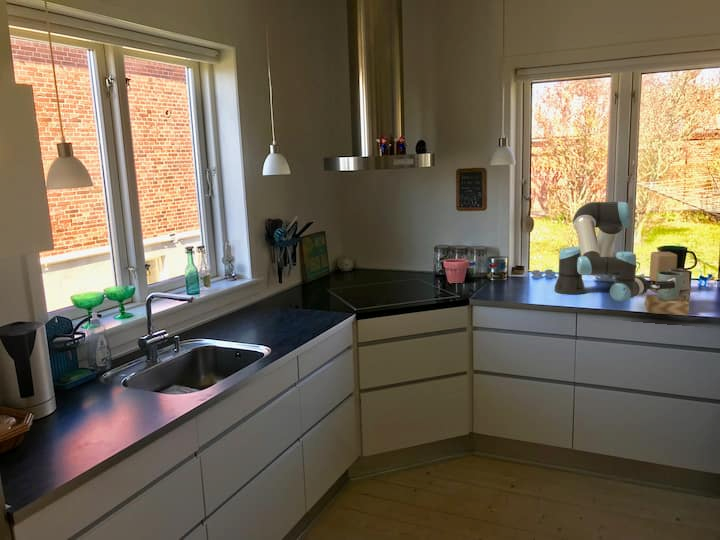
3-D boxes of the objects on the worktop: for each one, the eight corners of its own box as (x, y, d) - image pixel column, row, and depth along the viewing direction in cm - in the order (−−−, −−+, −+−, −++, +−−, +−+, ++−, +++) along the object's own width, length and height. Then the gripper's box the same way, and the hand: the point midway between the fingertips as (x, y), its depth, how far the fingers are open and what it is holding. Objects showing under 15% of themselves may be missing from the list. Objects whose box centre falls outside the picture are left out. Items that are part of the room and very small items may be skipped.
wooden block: (667, 289, 317) (670, 251, 313) (675, 293, 307) (678, 254, 304) (647, 289, 318) (650, 251, 314) (655, 293, 308) (657, 254, 305)
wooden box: (648, 312, 269) (648, 301, 268) (644, 304, 284) (645, 294, 283) (688, 315, 264) (689, 303, 263) (682, 306, 279) (683, 295, 278)
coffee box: (690, 304, 282) (692, 271, 279) (677, 305, 282) (679, 271, 279) (678, 300, 291) (680, 267, 288) (665, 301, 291) (668, 268, 288)
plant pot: (444, 279, 354) (444, 258, 352) (468, 280, 352) (468, 258, 349) (442, 284, 341) (442, 262, 338) (467, 285, 338) (468, 262, 336)
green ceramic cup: (671, 296, 278) (673, 270, 276) (685, 301, 268) (687, 274, 266) (651, 297, 277) (652, 271, 275) (664, 302, 267) (666, 275, 265)
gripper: (606, 290, 261) (630, 283, 275) (665, 300, 243) (687, 291, 256) (607, 273, 260) (631, 267, 273) (667, 282, 241) (689, 274, 254)
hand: (658, 278), depth 265 cm, fingers open, 13 cm apart
